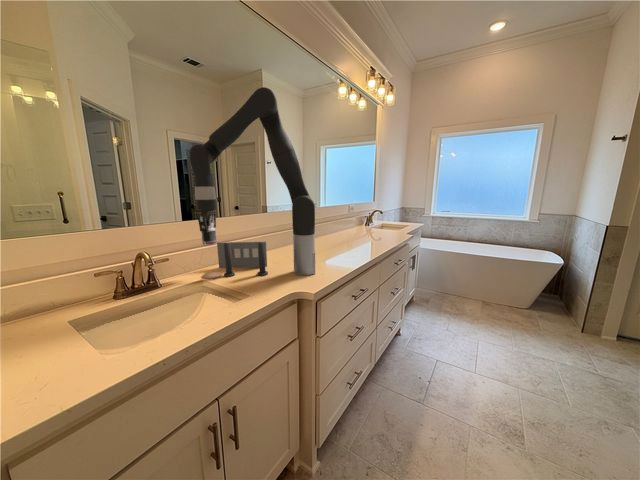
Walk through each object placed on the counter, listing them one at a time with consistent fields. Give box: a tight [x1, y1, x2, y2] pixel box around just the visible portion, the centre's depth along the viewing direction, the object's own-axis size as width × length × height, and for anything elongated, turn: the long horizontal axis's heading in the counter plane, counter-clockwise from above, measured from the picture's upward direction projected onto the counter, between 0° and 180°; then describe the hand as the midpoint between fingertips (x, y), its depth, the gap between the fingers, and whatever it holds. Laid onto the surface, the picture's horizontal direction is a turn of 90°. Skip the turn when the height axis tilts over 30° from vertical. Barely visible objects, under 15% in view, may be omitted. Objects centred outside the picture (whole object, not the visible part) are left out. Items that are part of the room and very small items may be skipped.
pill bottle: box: [200, 223, 217, 247], centre depth 104 cm, size 5×5×9 cm
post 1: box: [223, 243, 236, 278], centre depth 107 cm, size 4×4×14 cm
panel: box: [216, 241, 268, 269], centre depth 118 cm, size 22×2×12 cm, turn 95°
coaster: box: [201, 271, 224, 280], centre depth 108 cm, size 8×8×1 cm
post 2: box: [257, 241, 269, 277], centre depth 108 cm, size 4×4×14 cm
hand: (209, 239), depth 105 cm, fingers closed on pill bottle, 5 cm apart
